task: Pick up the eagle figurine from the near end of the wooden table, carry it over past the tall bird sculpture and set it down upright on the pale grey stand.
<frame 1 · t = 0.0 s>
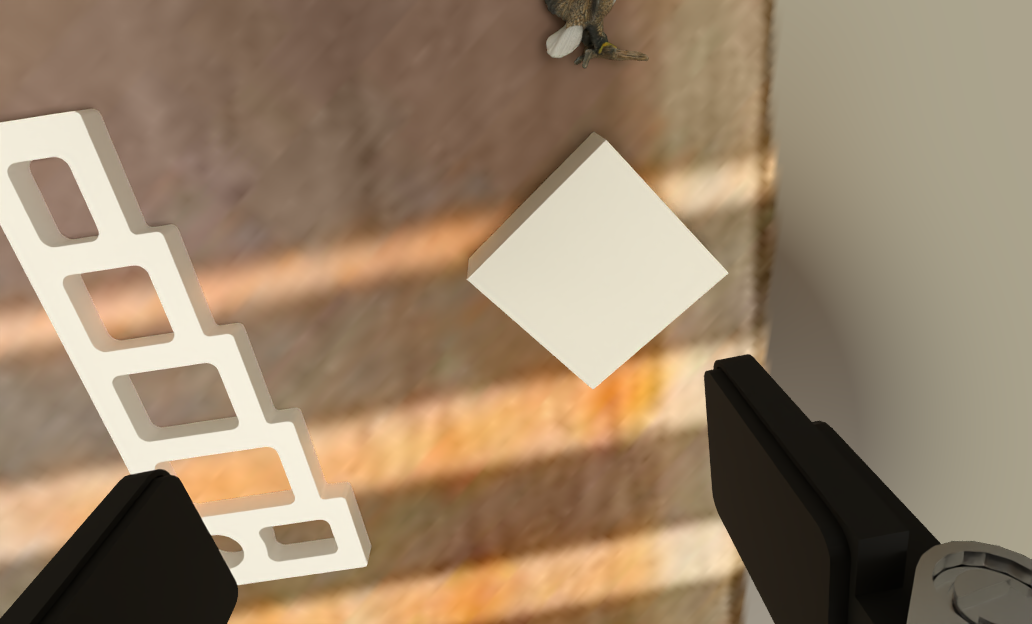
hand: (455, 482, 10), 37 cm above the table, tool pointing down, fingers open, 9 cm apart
holder: (212, 371, 51), on the table
stand: (588, 255, 48), on the table
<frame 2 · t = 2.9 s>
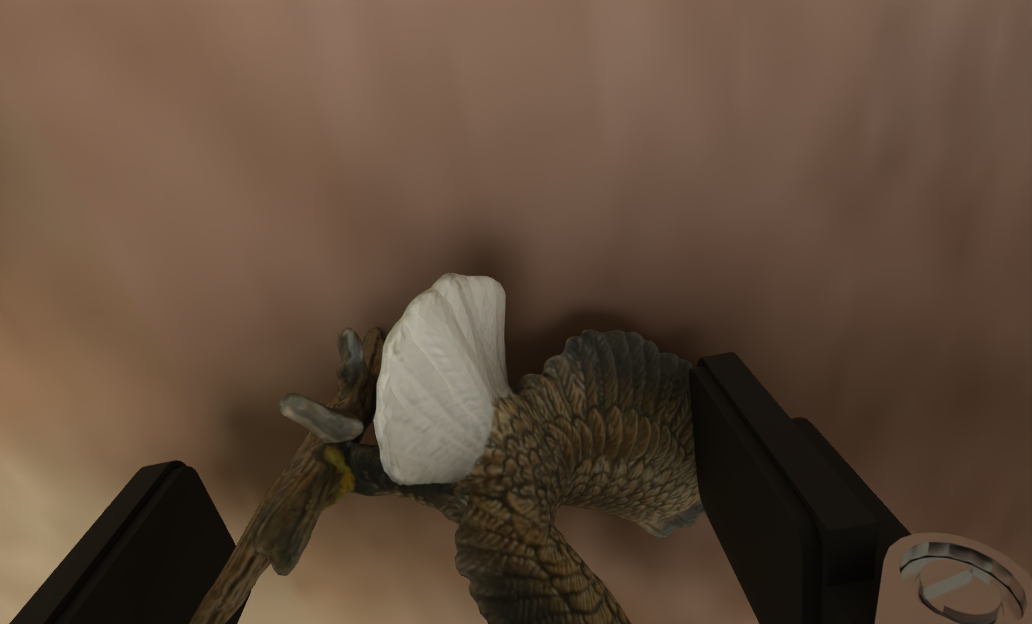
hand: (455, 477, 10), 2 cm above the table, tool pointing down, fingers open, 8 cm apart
eagle figurine: (537, 423, 12), on the table, touching gripper
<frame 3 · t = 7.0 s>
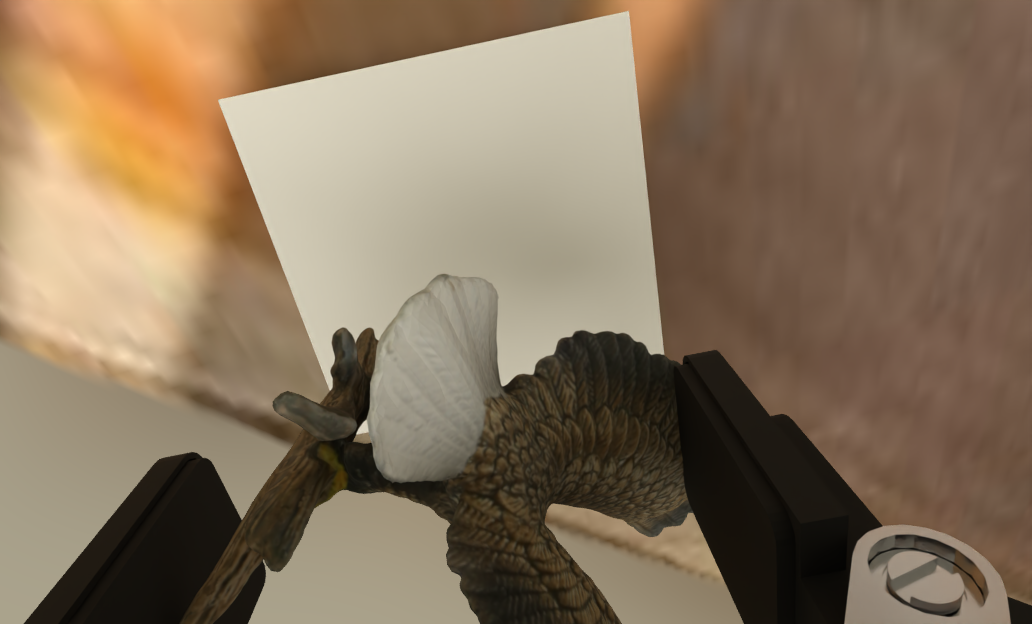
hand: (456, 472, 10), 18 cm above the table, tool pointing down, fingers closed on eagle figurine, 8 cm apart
stand: (471, 219, 27), on the table
eagle figurine: (529, 423, 13), point 16 cm above the table, touching gripper
when the fingers open (8 cm above the table, at t = 9.8 s): eagle figurine stays where it is, resting on stand.
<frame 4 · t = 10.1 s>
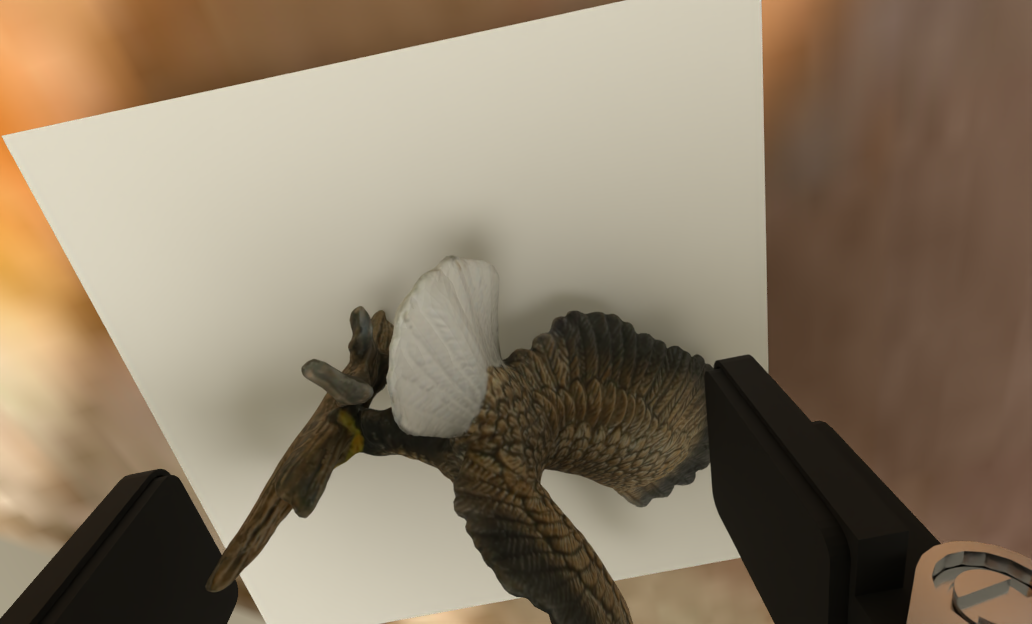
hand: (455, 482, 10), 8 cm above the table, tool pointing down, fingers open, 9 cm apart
stand: (468, 300, 18), on the table
eagle figurine: (527, 400, 14), point 5 cm above the table, touching stand
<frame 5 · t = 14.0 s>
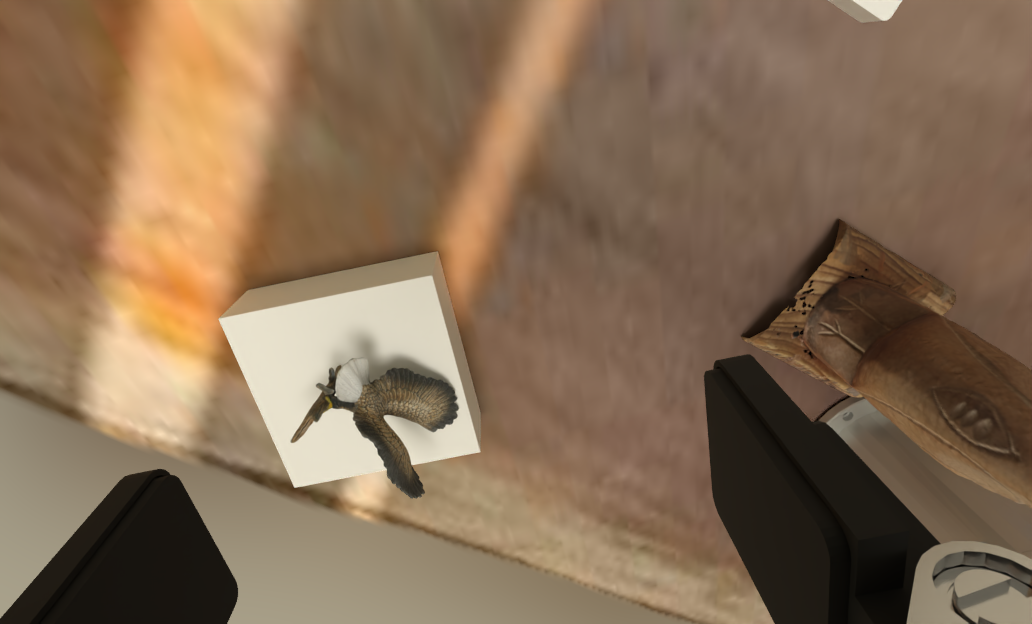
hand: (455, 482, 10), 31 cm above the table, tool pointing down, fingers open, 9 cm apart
stand: (371, 355, 44), on the table
bird sculpture: (838, 308, 45), on the table
eagle figurine: (391, 394, 40), point 5 cm above the table, touching stand
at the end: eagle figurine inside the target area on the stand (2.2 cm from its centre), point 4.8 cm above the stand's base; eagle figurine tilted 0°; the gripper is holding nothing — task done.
